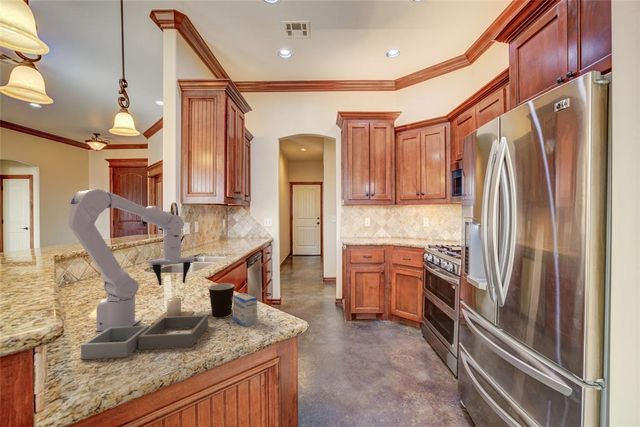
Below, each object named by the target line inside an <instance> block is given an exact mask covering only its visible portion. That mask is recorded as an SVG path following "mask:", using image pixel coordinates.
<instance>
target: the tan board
mask: <svg viewBox="0 0 640 427" xmlns="http://www.w3.org/2000/svg"><path fill="white" fill-rule="evenodd" d="M193 314H195V311H194V310H193V311H192V310H191V311H190V310H189V311H186V310H185V311H181V316H193ZM162 317H167V311H166V312H164V313H162V314H161V315H160V316H158V318H156V319H155V320H153V321H152V322H151V323H150V326H152V325H154V324H155V323H156V322H157V321H159V320H160V319H161V318H162Z"/></svg>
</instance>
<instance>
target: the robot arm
mask: <svg viewBox="0 0 640 427" xmlns="http://www.w3.org/2000/svg"><path fill="white" fill-rule="evenodd" d="M69 207H70V208H69V214H68V215H69V216H68V226H69V228H70V229H71V231H72V233H73V234H74V236H76V239H77V240H78V242H79V243H80V244H81V246H82V248H83V250H85V252H86V254H88V256H89V257H90V260H91V261H92V262H93V264H94V265H95V267H96V268H97V270H98V272H99V273H100V274H101V280H102V282H103V289H104V291H105V293H106V294H108V295H107V297H106V298H103V299H101V300H100V301H99V302H98V304H97V306H96V328H95V329H94V332H103V331H105V330H106V329H108V328H109V327H126V326H136V324H138V323H140V321H142V318H136V294H137V293H138V291H139V287H140V286H139V283H138V281H137V279H135V278H132V277H131V276H130V274H129V273H128V272H127V271H126V270H125V269H123V268H122V267H121V265H120V263H119V261H118V260H117V259H116V257H115V255H114V254H113V252H112V251H111V249H110V247H109V245H108V244H107V242H106V241H105V240H104V238H103V236H102V235H101V233H100V231H99V230H98V228H97V227H96V225H95V223H96V221H97V219H98V218H99V216H100V215H101V213H103V212H104V211H105V210H106V209H114V208H115V209H118V210H120V211H125V212H127V213H131V214H133V215H136V216H139V217H140V219H141V220H142V221H143V222H145V223H149V224H150V225H154V226H157V227H159V228H160V229H162V230H163V234H162V236H163V238H162V240H163V244H162V246H163V248H162V249H163V250H162V251H163V253H162V254H163V258H159V259H149V260H148V266H149V267H152V271H153V272H154V274H155V276H156V279H157V281H158V286H162V285H163V284H162V266H165V265H177V264H182V267H183V269H182V270H183V271H182V273H183V274H182V284H185V282H186V279H187V274H188V272H189V270H190V267H191V264H195V263H194V262H195V257H194V256H193V257H192V256H189V257H188V256H184V257H182V253H181V252H182V242H181V241H182V240H181V239H182V238H181V237H182V236H181V235H182V229H183V228H184V226H185V222H184V220H183V218H182V217H181V216H180V215H178V214H172V213H171V211H165V210H163V209H160V208H159V206H157V205H153V206H152V205H148V206H143V205H140V204H138V203H135V202H133V201H131V200H130V199H127V198H124V197H122V196H120V195H118V194H116V193H114V192H109V191H105V190H104V189H100V188H93V189H89V190H79V191H77V192H76V193H75V194H74V195H73V196H72V198H71V199H70V201H69Z"/></svg>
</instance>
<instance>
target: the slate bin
mask: <svg viewBox="0 0 640 427" xmlns="http://www.w3.org/2000/svg"><path fill="white" fill-rule="evenodd" d="M149 328H150V325H133V326H126V327H109V328H108V329H106V330H105V331H100V332H99V333H98V334H96V335H95V336H93V337H92V338H90V339H89V340H87V341H85V342H83V343H82V344H80V360H91V359H93V360H95V359H109V358H110V359H113V358H127V357H128V356H130V354H132V353H133V352H134V351H135V350H136V349H138V336H140V335H141V334H142V333H143V332H145V331H146V330H147V329H149ZM109 341H110V342H109Z"/></svg>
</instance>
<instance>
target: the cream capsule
mask: <svg viewBox="0 0 640 427" xmlns="http://www.w3.org/2000/svg"><path fill="white" fill-rule="evenodd" d="M166 312H167V317H175V316H181V312H182V298H181V297H170V298H167V300H166Z"/></svg>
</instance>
